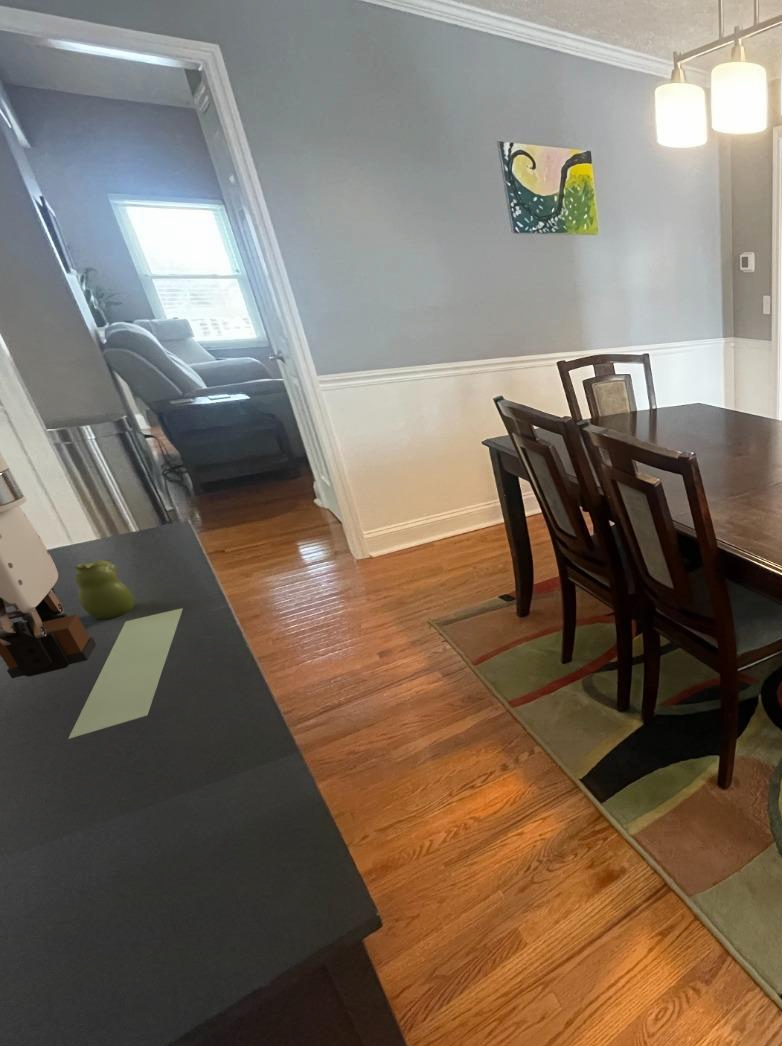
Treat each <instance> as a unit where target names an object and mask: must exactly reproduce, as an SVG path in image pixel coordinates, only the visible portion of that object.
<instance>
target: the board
mask: <svg viewBox="0 0 782 1046" xmlns="http://www.w3.org/2000/svg"><path fill="white" fill-rule="evenodd" d="M183 609H184V608H183V607H182V608H177V609H173V610H168V611H165V612H164V611H163V612H160V613H156V614H151V615H148V616H147V615H146V616H143V617H139V618H134V619H129V620H126V621H125V622H124V624H123V626H122V628H121V630H120V632H119V633H118V636H117V638H116V640H115V642H114V644H113V646H112V648H111V650H110V652H109V654H108V657H107V659H106V660H105V663H104V665H103V667H102V668H101V671H100V673H99V675H98V676H97V679H96V681H95V683H94V685H93V687H92V689H91V691H90V693H89V695H88V697H87V699H86V701H85V703H84V705H83V707H82V710H81V712H80V714H79V715H78V718H77V720H76V722H75V724H74V726H73V728H72V730H71V732H70V734H69V736H68V740H70V739H73V738H77V737H80V736H84V735H87V734H90V733H93V732H97V731H100V730H101V731H102V730H103V729H107V728H110V727H114V726H117V725H121V724H124V723H127V722H131V721H134V720H137V719H141V718H143V717H147V716H149V715H148V714H149V711H150V708H151V706H152V703H153V699H154V696H155V694H156V691H157V688H158V686H159V685H158V684H159V681H160V679H161V675H162V673H163V669H164V667H165V666H164V665H165V663H166V660H167V658H168V654H169V652H170V648H171V645H172V642H173V639H174V636H175V634H176V632H177V628H178V625H179V622H180V618H181V616H182V612H183Z"/></svg>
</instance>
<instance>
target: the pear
mask: <svg viewBox="0 0 782 1046" xmlns="http://www.w3.org/2000/svg"><path fill="white" fill-rule="evenodd" d="M75 569H76V574H75V575H74V582H75V583H76V585H77V586H78V601H79V604H80V605H81V607H82V608H83V609H84V611H85V612H86V613H87V614H88V615H90V616H91V618H94V619H97V620H107V619H112V618H116V617H120V616H123V615H125V614H127V613H130V612H131V611H132V610H133V609H134V607H135V598H134V595H133V593H132V591H131V590H130V589H129V588H128V586H127V585H125V584H124V583H123V582H121V580H120V579H119V576H118V575H117V574H118V567H117V566H116V565H115V564H113V563H112V562H111V561H110V560H109V559H100V560H95V561H89V562H81V563H77V564H76V566H75Z"/></svg>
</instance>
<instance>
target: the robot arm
mask: <svg viewBox="0 0 782 1046" xmlns="http://www.w3.org/2000/svg"><path fill="white" fill-rule="evenodd" d="M26 502H27V498H26V496H25V494H24V493H23V491H22V489H21V487H20V486H19V484H18V482H17V480H16V479H15V477H14V474H13V473H12V470H11V469H10V467H9V465H8V464H7V461H6V460H5V458H4V456H3V454H2V452H1V451H0V641H1V643H2V644H3V645H4V646H6V647H7V649H8V650H9V652H10V654H11V655H12V657H13V658H14V660H15V662H16V663H17V665H18V666H19V668H20V670H21V671H22V673H23V674H24V677H28V678H29V677H33V676H38V675H42V674H46V673H50V672H55V671H58V670H64V669H67V668H68V667H69V664H70V661H69V659H68V657H67V656H66V654H65V652H64V650H63V649H62V647H61V645H60V643H59V642H58V640H57V638H56V637H55V635H54V633H53V632H50V633H47V632H46V629H45V627H44V625H43V623H42V622H44V621H49V620H54V619H58V618H63V617H68V615H67V614H66V613H64V612H65V609H64V606H63V604H62V603H61V601H60V600H59V598H58V597H57V595H56V591H54V590H55V589H54V588H53V587H54V586H55V585H56V583H57V581H58V579H59V572H58V569H57V566H56V564H55V562H54V560H53V558H52V555H51V554H50V552H49V550H48V548H47V547H46V545H45V543H44V542H43V540H42V538H41V537H40V535H39V533H38V531H37V530H36V528H34V525H33V524H32V523H31V521H30V519H29V518H28V516H27V515H26V513H25V512H24V510H23V509H22V508H21V506H22V505H24V504H25V503H26ZM9 607H14V609H12V610H9V611H7V610H6V608H9ZM18 618H21V619H22V620H23V621H22V620H19V621H14V620H13V619H18ZM70 665H71V664H70Z"/></svg>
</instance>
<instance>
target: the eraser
mask: <svg viewBox="0 0 782 1046" xmlns="http://www.w3.org/2000/svg"><path fill="white" fill-rule="evenodd" d="M42 623H43V625H44V627H45V629H46V632H47V633H50V632H53V633H54V635H55V637H56V638H57V640H58V642H59V643H60V645H61V647H62V649H63V650H64V652H65V654H66V656H67V657H68V659H69V661H70V664H69V665H73V664H74V665H75V664H78V663H82V662H86V661H88V660H89V658H90V656H91V655H92V653H93V651H94V649H95V647H96V646H97V643H96V641H95V640H94V637H90V636H89V634H88V632H87V630H86V629H85V626H84V624H83V622H82V621H81V619H80V617H79V616H78V614H73V615H67V617H63V618H58V619H54V620H49V621H44V622H42ZM0 657H1V658H2V660H3V662H4V663H5V665H6V667H7V670H6V672H7V673H8V676H10V678H11V679H16V678H19V677H23V676H24V677H25V675H24V674H23V673H22V671H21V670H20V668H19V666H18V665H17V663H16V662H15V660H14V658H13V657H12V655H11V654H10V652H9V650H8V649H7V647H6V646H4V645H3V644H2V643H1V641H0Z"/></svg>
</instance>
